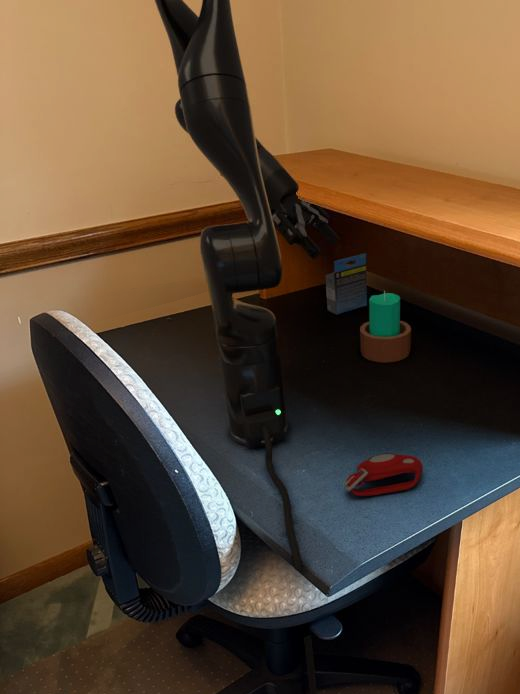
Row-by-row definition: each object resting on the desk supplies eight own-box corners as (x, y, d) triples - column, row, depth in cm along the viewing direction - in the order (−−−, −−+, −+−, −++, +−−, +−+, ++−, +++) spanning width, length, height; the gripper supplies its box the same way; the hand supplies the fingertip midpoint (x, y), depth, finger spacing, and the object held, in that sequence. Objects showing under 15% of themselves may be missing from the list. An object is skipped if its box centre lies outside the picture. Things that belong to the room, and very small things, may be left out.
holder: (418, 356, 133) (419, 333, 130) (373, 366, 130) (372, 342, 127) (396, 338, 140) (397, 315, 137) (353, 346, 137) (352, 323, 134)
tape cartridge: (357, 301, 158) (356, 248, 150) (367, 306, 155) (367, 252, 148) (326, 310, 153) (323, 256, 146) (336, 315, 151) (334, 260, 144)
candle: (400, 342, 137) (401, 285, 130) (398, 355, 132) (399, 296, 125) (371, 342, 137) (370, 284, 130) (368, 354, 133) (367, 296, 125)
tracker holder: (363, 449, 104) (425, 444, 100) (368, 476, 105) (429, 472, 101) (335, 476, 93) (403, 473, 89) (341, 506, 94) (408, 503, 91)
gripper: (260, 174, 116) (324, 247, 119) (296, 158, 127) (354, 226, 130) (237, 204, 121) (299, 273, 124) (274, 187, 131) (330, 251, 134)
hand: (327, 249), depth 127 cm, fingers open, 8 cm apart
